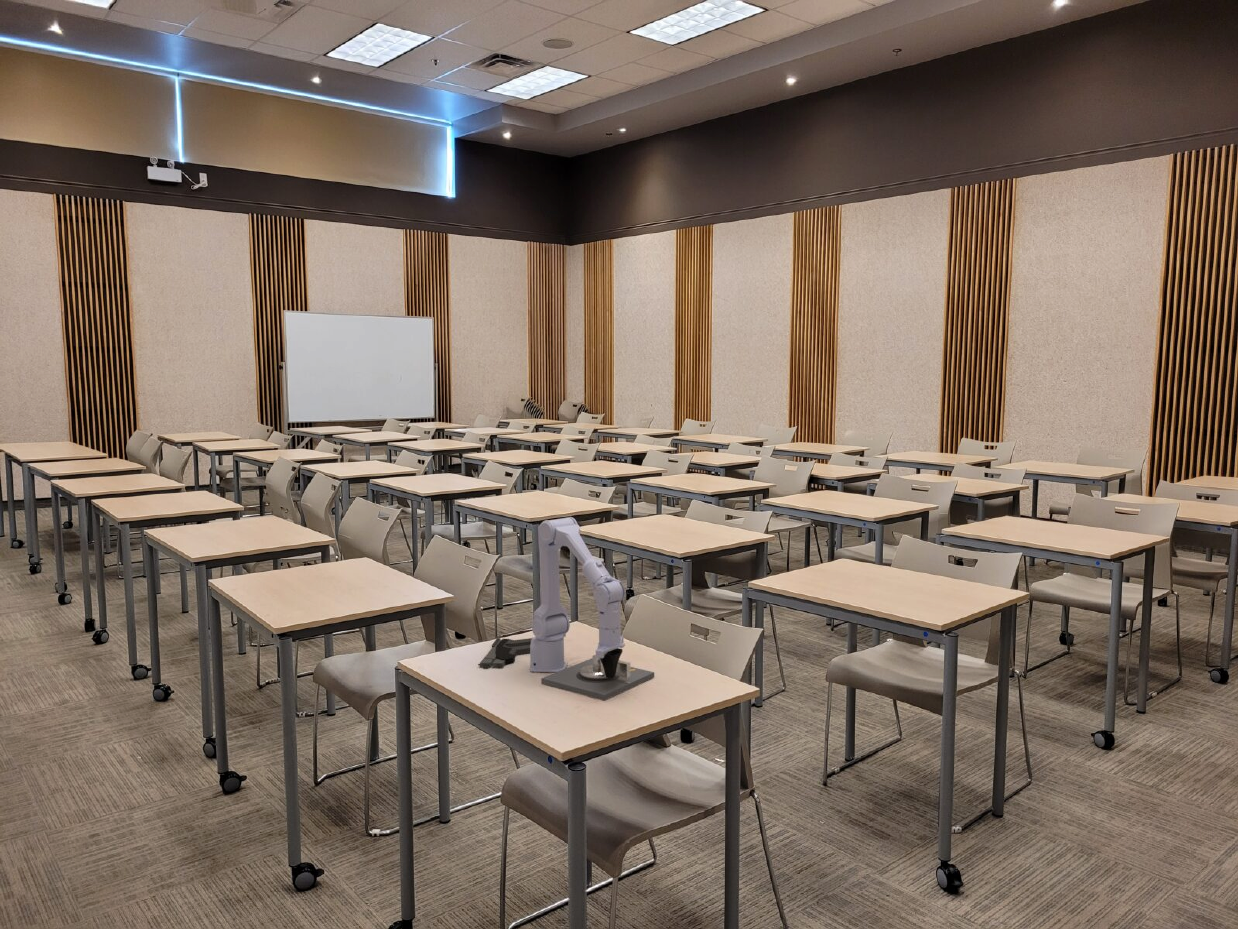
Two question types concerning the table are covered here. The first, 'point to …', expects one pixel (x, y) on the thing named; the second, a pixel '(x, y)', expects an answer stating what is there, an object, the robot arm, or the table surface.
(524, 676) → the table surface
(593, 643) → the table surface
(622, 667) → the dial
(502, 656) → the pistol
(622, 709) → the table surface
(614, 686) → the dial plate
